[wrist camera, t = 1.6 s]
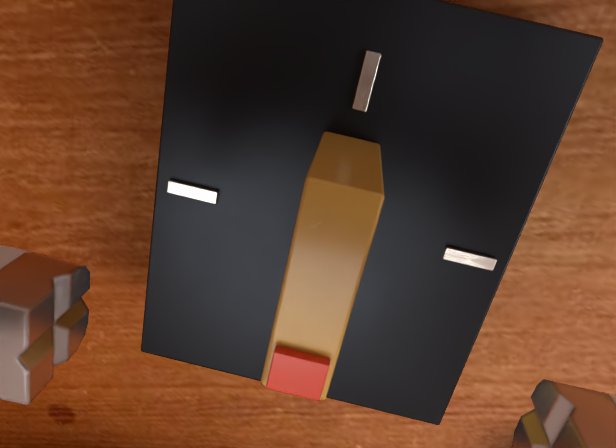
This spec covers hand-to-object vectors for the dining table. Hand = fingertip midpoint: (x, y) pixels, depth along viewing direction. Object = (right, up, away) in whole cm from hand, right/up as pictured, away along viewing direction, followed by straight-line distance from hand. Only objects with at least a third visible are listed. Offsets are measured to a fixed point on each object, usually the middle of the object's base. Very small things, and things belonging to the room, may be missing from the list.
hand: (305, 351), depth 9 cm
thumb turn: (+1, +2, +5) cm, 5 cm away
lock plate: (+1, +3, +8) cm, 8 cm away
